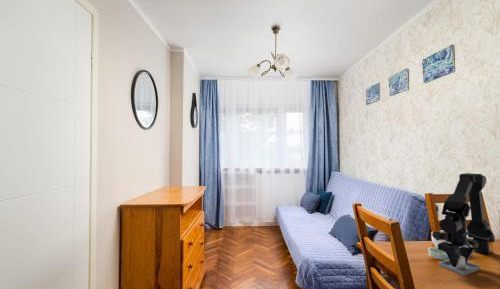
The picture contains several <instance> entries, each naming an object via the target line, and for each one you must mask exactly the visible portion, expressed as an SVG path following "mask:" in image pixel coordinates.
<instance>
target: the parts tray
mask: <svg viewBox="0 0 500 289" xmlns="http://www.w3.org/2000/svg"><path fill="white" fill-rule="evenodd" d="M438 266H439V267H441V268H444V269H446V270H448V271H451V272H453V273H456V274H459V275H461V276H464V277H465V276H467V275H469V274H473V273H475V272H477V271H480V270H481V265H478V264H475V263H472V262H470V261H467V262H466V264H465V270H460V269H457V268H455V267H453V266H452V265H451V262H450V260H449V259H448V260H442V261H440V262H438Z"/></svg>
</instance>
